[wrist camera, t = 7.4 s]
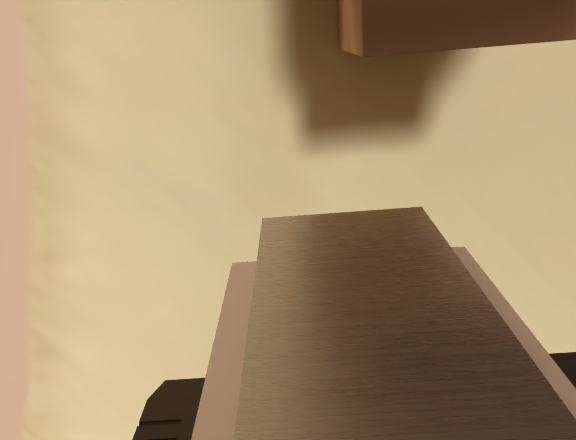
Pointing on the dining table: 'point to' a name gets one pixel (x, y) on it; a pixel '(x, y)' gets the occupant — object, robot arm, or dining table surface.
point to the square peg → (382, 340)
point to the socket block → (450, 24)
